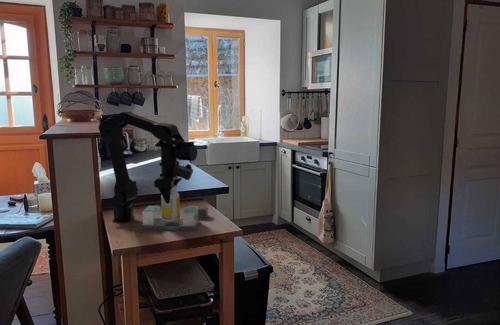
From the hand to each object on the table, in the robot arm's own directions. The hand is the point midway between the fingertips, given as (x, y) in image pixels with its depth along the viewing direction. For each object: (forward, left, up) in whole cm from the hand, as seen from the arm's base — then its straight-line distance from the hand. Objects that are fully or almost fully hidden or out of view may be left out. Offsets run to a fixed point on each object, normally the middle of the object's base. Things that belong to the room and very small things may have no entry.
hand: (170, 200), depth 143 cm
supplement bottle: (0, 0, -8) cm, 8 cm away
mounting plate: (0, 0, -10) cm, 10 cm away
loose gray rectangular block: (+9, +11, -10) cm, 17 cm away
